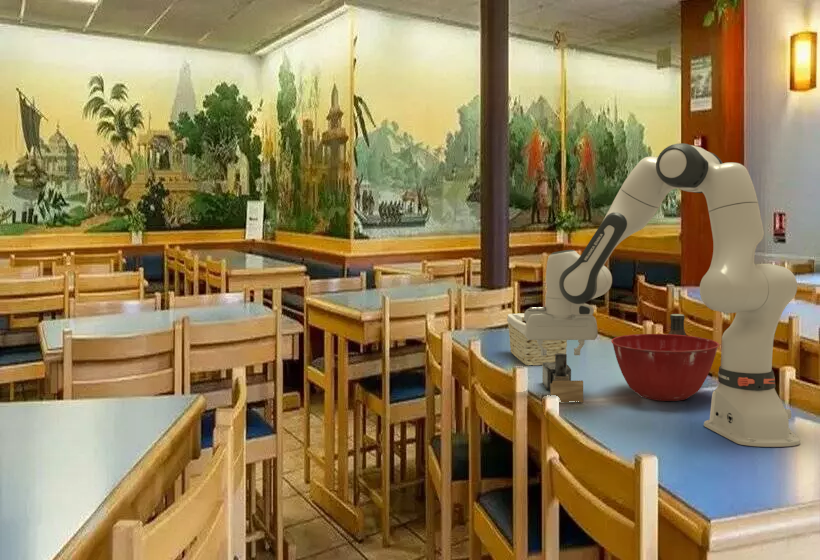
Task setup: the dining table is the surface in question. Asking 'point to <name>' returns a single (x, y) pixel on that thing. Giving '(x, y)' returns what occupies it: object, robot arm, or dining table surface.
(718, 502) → the dining table surface
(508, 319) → the storage basket
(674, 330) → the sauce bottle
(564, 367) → the dark grey upright block
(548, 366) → the sleeve
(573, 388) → the brown wooden block
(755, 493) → the dining table surface
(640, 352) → the mixing bowl
